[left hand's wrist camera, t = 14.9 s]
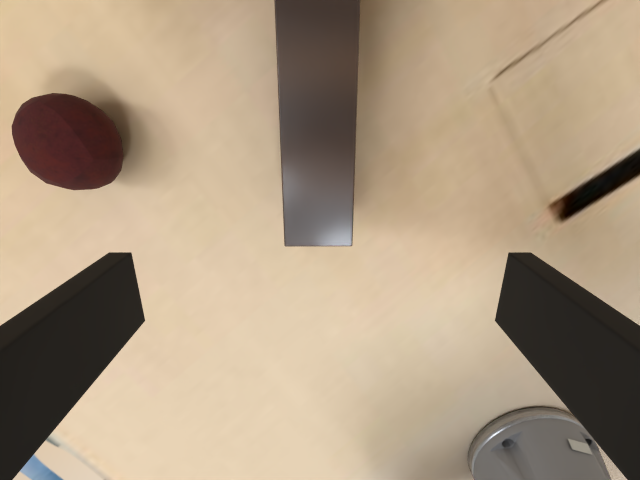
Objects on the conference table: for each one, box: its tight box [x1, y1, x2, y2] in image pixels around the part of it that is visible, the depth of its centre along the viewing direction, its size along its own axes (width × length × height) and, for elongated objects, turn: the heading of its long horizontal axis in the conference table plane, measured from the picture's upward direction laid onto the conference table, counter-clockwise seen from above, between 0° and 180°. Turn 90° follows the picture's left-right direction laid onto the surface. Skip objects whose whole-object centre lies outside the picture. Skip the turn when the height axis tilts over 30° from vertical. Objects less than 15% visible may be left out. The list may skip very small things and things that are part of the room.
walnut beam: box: [275, 0, 360, 246], centre depth 25 cm, size 28×5×9 cm, turn 0°
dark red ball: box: [12, 93, 123, 190], centre depth 28 cm, size 7×8×7 cm
